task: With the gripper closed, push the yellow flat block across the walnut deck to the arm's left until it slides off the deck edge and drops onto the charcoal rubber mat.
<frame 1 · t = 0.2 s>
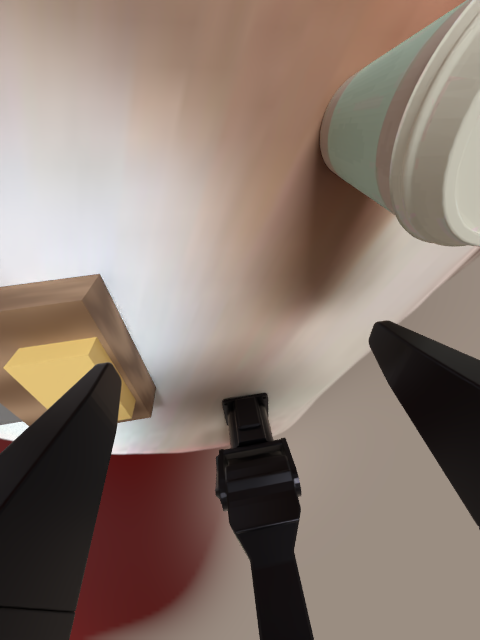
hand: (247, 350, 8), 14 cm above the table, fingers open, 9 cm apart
coffee cup: (359, 128, 17), on the table
yellow flat block: (85, 377, 22), point 4 cm above the table, touching deck
deck: (74, 350, 25), on the table
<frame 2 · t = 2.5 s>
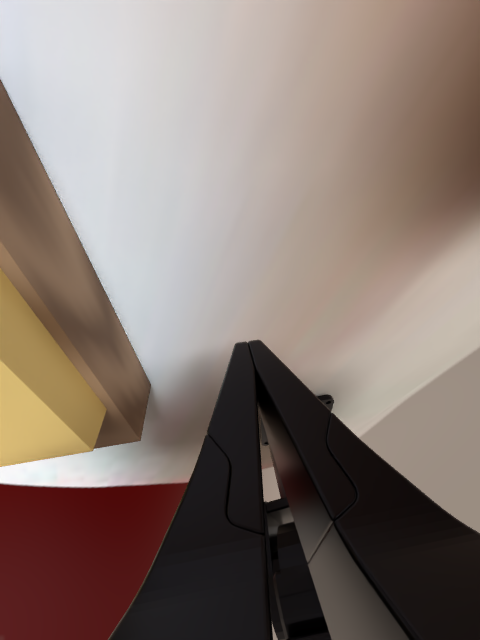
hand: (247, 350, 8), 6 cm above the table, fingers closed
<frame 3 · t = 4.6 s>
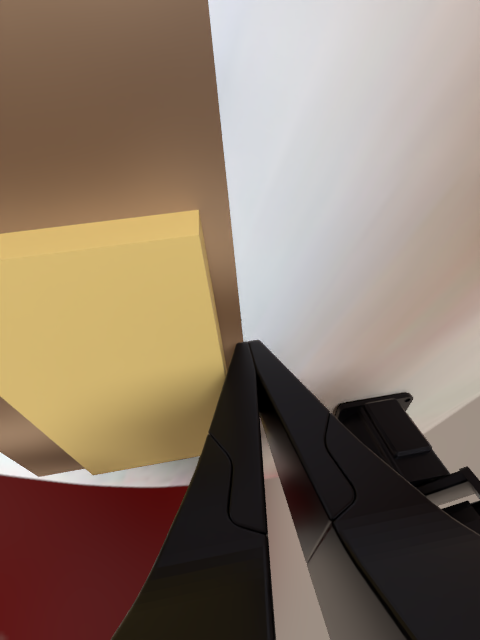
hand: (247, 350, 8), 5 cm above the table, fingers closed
yellow flat block: (139, 351, 9), point 4 cm above the table, touching gripper
deck: (110, 300, 12), on the table
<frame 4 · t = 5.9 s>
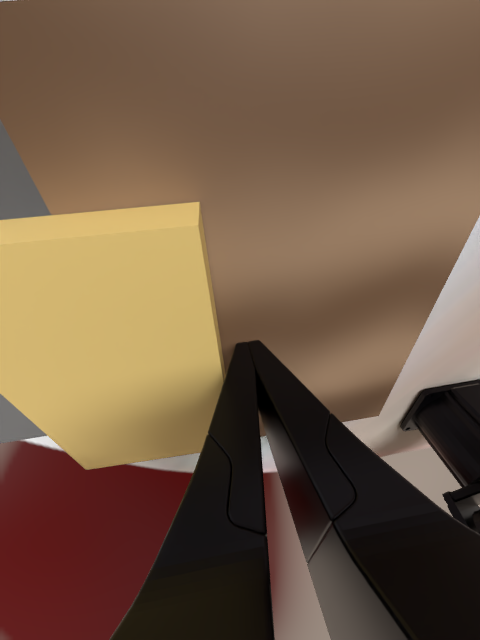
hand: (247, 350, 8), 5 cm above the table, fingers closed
yellow flat block: (136, 345, 9), point 4 cm above the table, touching deck
deck: (263, 279, 12), on the table
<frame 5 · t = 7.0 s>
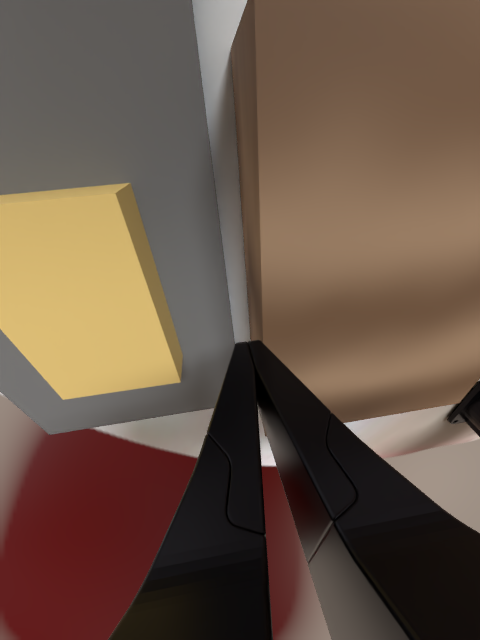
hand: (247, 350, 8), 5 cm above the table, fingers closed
yellow flat block: (82, 323, 10), point 2 cm above the table, tilted 180°, touching mat
mat: (85, 303, 12), on the table
deck: (360, 266, 13), on the table
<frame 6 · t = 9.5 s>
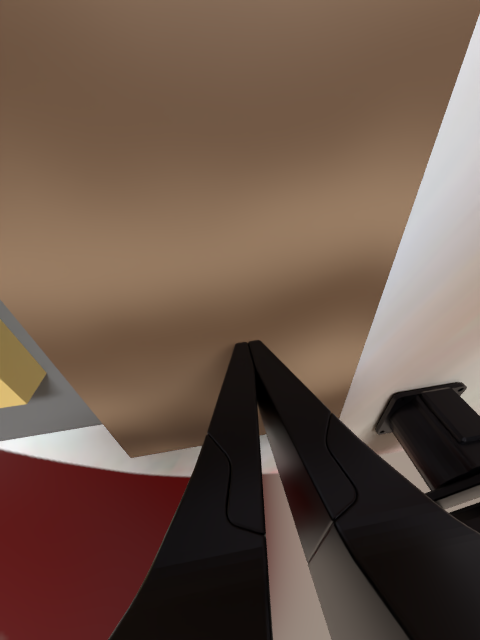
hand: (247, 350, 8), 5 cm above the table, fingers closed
deck: (214, 282, 12), on the table
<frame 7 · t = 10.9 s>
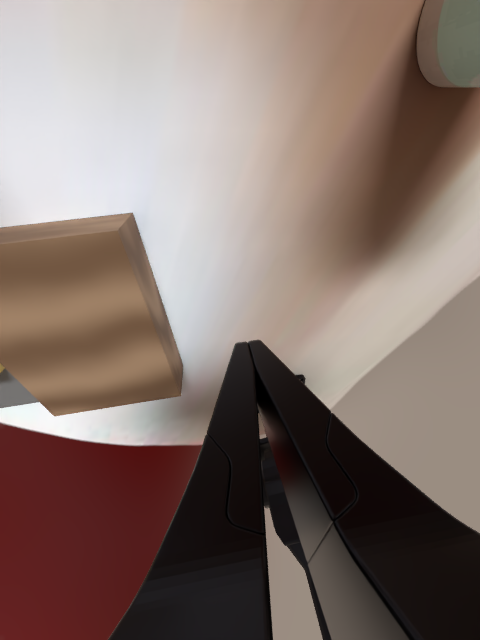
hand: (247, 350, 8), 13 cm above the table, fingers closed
coffee cup: (465, 16, 13), on the table
deck: (95, 315, 21), on the table
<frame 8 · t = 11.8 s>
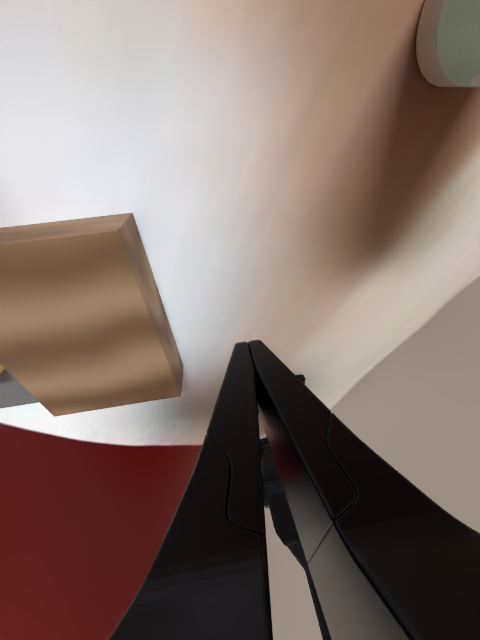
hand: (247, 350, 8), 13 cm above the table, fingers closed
coffee cup: (465, 15, 13), on the table
deck: (95, 315, 21), on the table
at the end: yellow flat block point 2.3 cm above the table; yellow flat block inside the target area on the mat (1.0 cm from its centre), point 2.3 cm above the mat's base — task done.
